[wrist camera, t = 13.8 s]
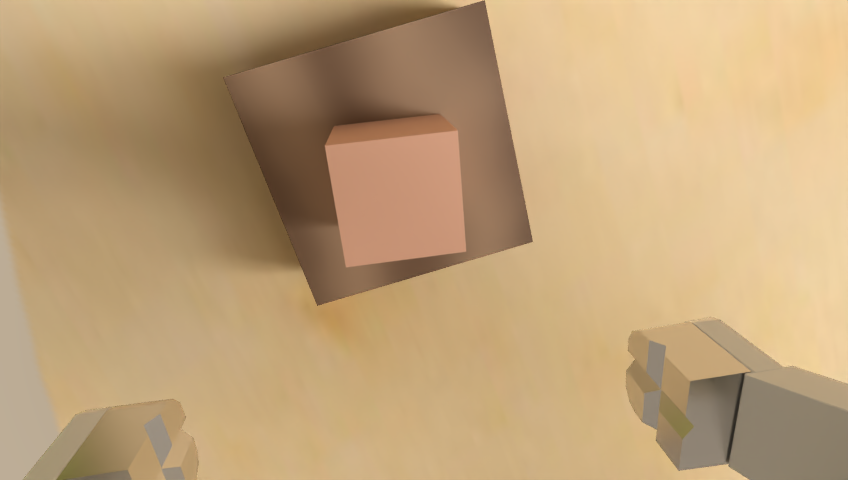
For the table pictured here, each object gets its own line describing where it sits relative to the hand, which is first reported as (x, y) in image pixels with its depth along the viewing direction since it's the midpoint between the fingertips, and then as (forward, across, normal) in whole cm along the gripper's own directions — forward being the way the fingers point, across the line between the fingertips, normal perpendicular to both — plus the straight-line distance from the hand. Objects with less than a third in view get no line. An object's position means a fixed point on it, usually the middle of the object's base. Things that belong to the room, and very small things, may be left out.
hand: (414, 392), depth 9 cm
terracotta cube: (+16, 0, 0) cm, 16 cm away
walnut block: (+21, 0, 0) cm, 21 cm away
